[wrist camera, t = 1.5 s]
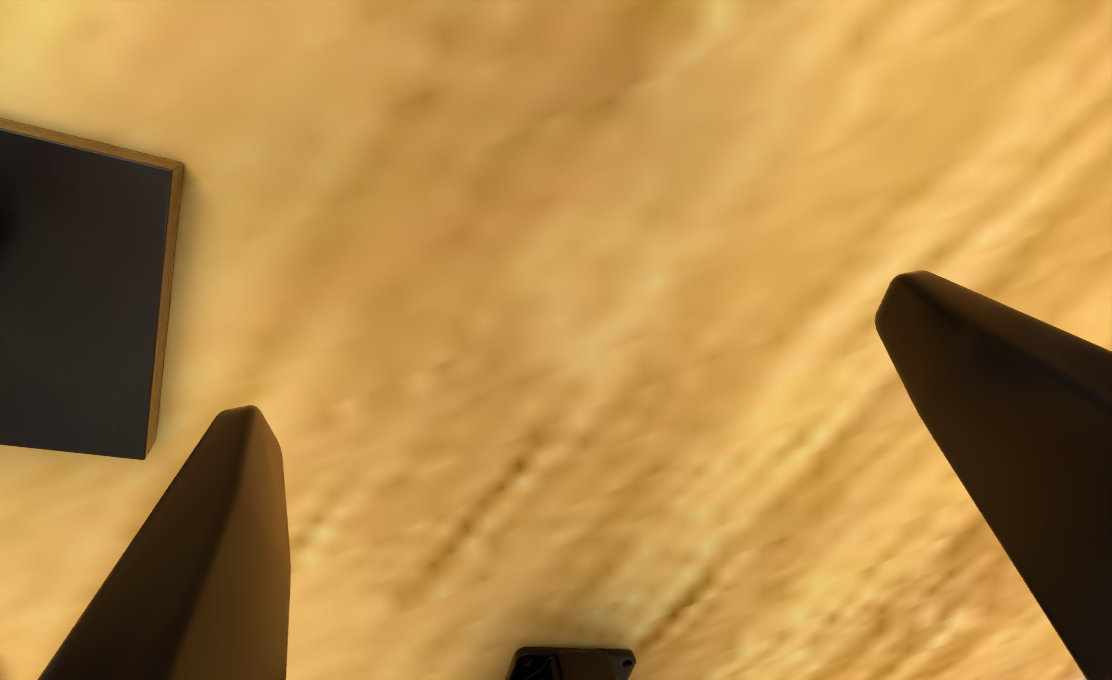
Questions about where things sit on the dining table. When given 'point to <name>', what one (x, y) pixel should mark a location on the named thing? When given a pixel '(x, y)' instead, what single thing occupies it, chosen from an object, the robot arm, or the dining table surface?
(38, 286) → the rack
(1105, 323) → the dining table surface
